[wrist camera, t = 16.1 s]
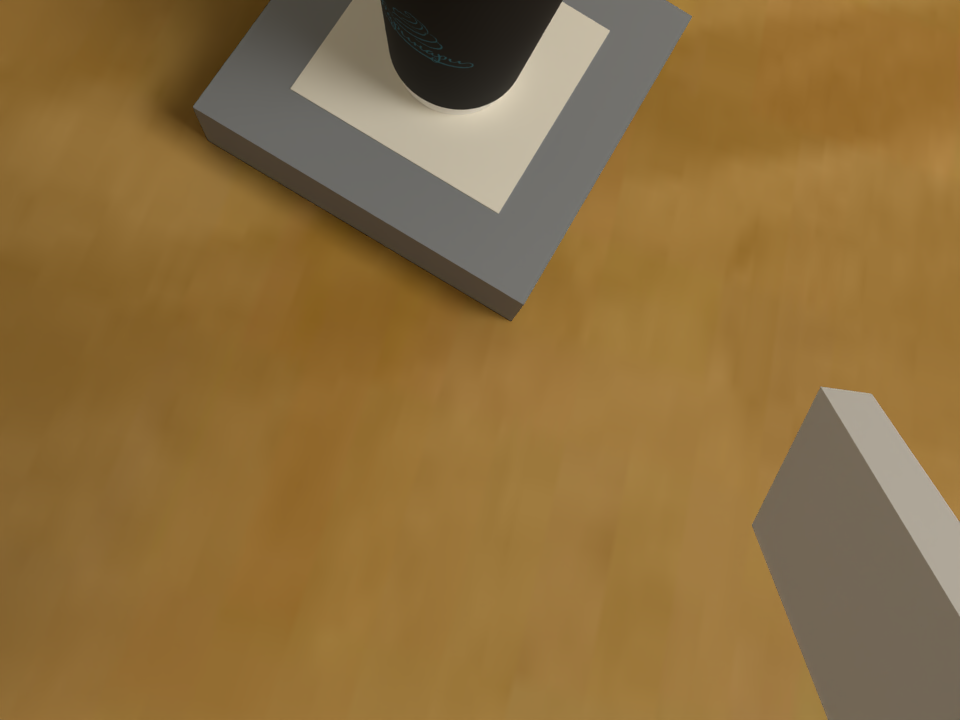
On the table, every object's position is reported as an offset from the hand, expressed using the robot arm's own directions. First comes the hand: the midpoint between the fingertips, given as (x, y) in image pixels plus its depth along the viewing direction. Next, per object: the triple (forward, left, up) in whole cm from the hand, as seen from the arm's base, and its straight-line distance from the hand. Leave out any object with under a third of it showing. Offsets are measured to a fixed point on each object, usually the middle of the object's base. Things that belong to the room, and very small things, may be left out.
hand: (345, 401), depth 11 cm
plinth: (-5, +16, -22) cm, 28 cm away
